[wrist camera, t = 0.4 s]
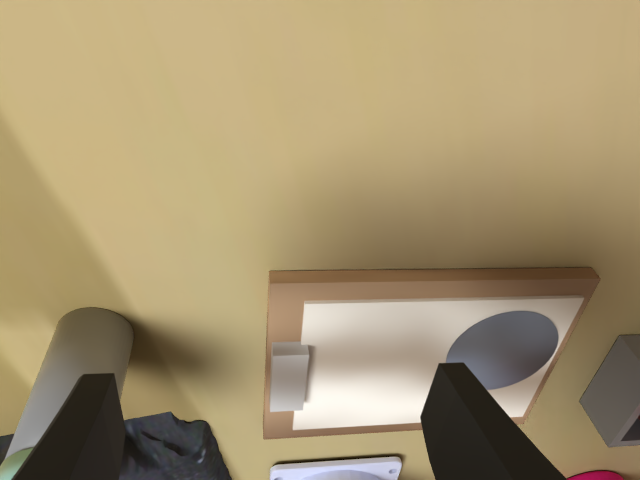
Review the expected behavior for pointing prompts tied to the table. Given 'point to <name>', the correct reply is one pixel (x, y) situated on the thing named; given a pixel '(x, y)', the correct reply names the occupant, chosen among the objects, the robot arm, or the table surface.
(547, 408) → the table surface
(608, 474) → the pepper mill
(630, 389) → the button box
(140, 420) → the dark slate chunk
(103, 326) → the marker
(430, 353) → the clipboard
